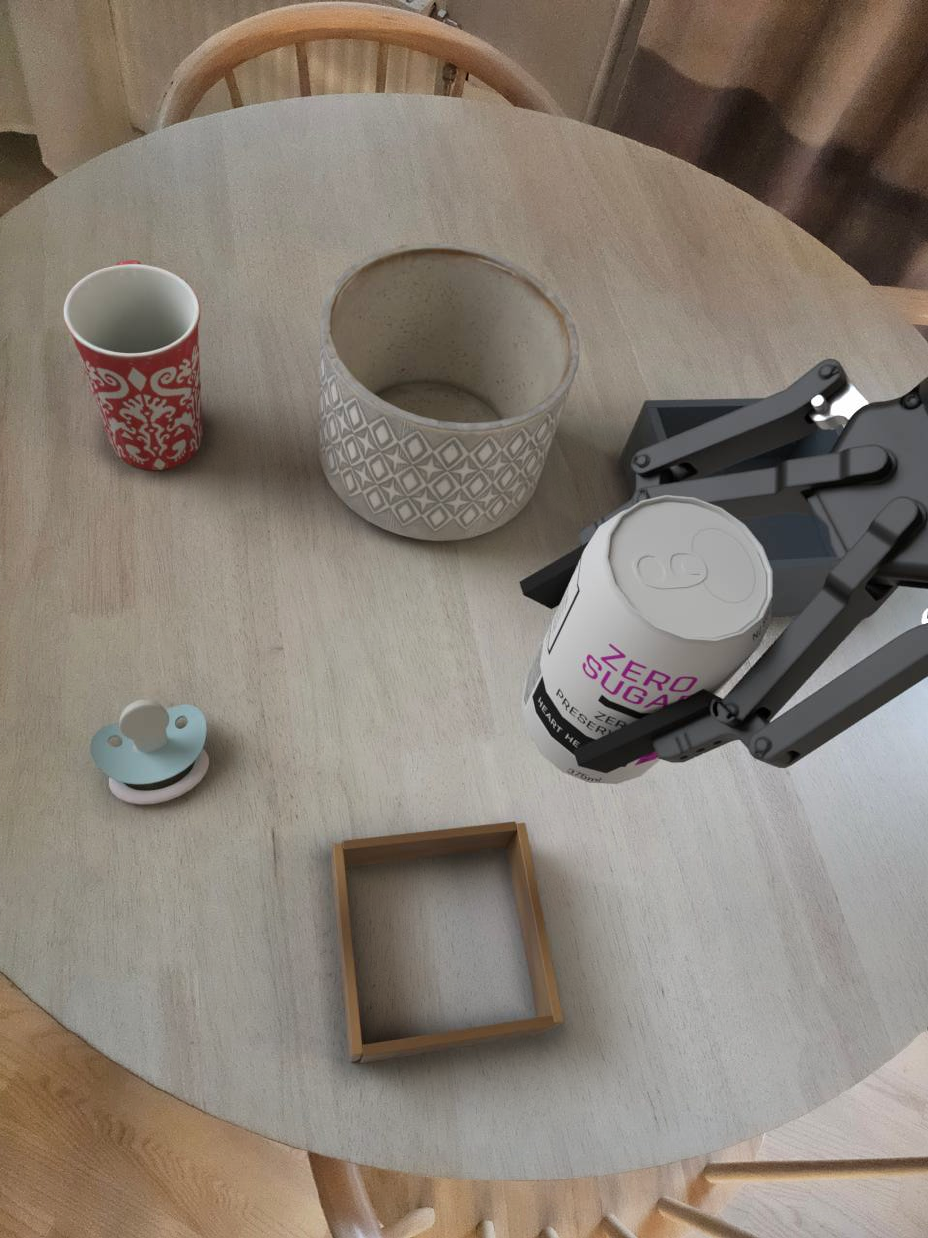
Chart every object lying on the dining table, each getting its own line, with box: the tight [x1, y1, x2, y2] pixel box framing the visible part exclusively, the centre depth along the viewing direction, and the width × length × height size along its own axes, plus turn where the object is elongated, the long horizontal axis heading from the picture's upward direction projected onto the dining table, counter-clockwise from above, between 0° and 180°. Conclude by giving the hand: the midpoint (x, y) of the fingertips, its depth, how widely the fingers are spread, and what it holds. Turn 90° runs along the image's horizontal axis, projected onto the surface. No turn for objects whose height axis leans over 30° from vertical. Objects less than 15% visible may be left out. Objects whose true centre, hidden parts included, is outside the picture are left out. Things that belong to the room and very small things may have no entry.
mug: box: [62, 259, 204, 471], centre depth 72 cm, size 13×9×14 cm
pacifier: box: [89, 698, 210, 805], centre depth 61 cm, size 7×6×6 cm
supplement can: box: [520, 495, 772, 785], centre depth 45 cm, size 8×8×15 cm
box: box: [330, 821, 564, 1064], centre depth 58 cm, size 12×12×4 cm
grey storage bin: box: [618, 397, 844, 618], centre depth 77 cm, size 17×17×8 cm
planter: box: [317, 242, 580, 542], centre depth 74 cm, size 19×19×14 cm
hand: (562, 675), depth 45 cm, fingers closed on supplement can, 8 cm apart
